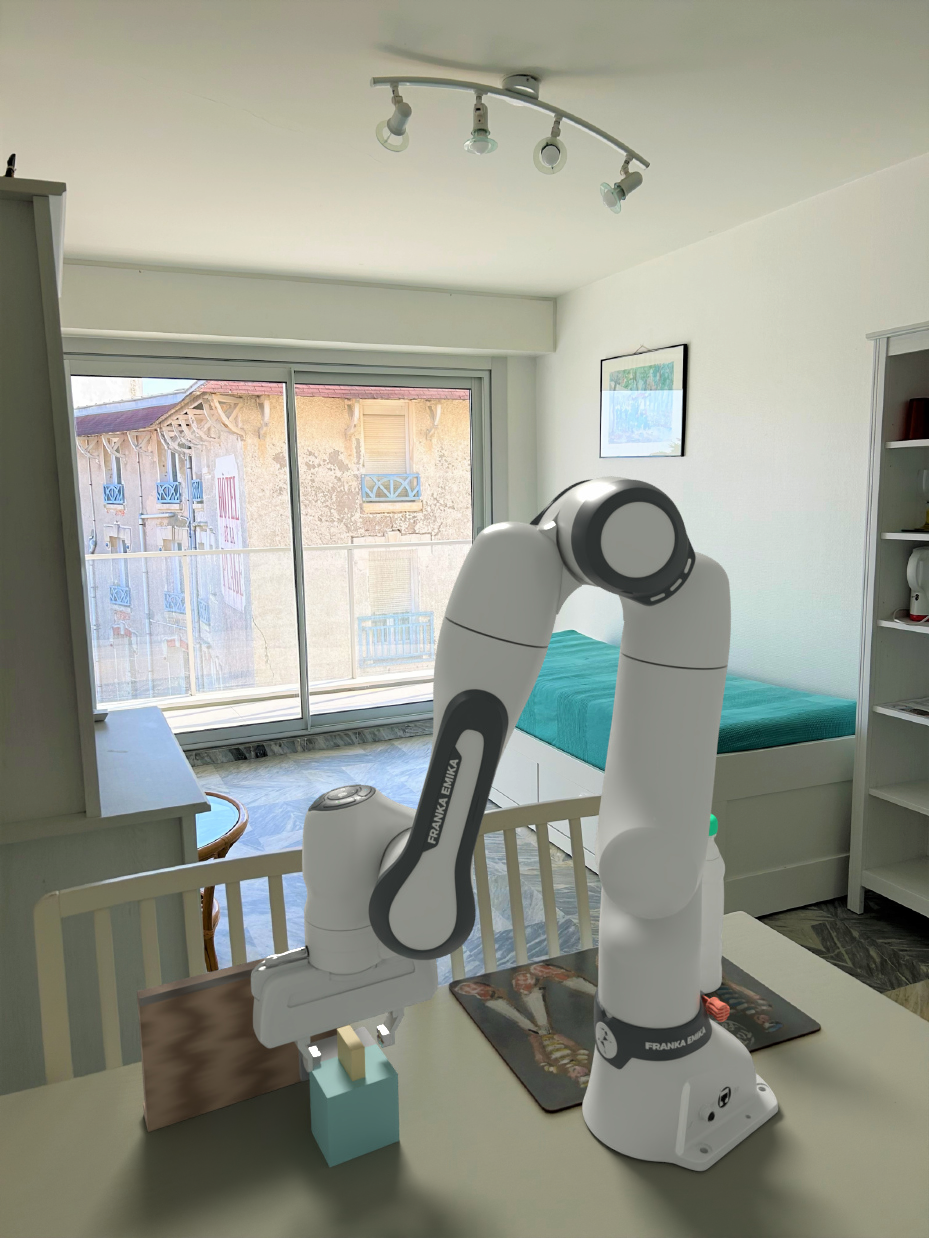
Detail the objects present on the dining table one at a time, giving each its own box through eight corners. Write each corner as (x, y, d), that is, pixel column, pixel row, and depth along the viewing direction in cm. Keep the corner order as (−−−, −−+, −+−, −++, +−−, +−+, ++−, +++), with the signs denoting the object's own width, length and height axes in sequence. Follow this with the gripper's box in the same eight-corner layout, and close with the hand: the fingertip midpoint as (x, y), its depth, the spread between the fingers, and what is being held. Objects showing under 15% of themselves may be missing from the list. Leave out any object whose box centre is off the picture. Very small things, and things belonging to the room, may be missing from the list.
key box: (366, 1088, 105) (363, 998, 103) (399, 1140, 96) (397, 1043, 94) (301, 1110, 101) (297, 1018, 99) (329, 1167, 92) (326, 1067, 91)
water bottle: (723, 998, 122) (729, 826, 119) (671, 993, 124) (675, 823, 120) (719, 971, 129) (724, 808, 125) (670, 966, 130) (673, 805, 127)
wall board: (342, 1049, 112) (338, 931, 110) (351, 1064, 109) (347, 943, 107) (143, 1113, 101) (134, 983, 98) (148, 1131, 98) (138, 998, 95)
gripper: (258, 975, 86) (263, 1104, 88) (443, 926, 96) (445, 1043, 98) (242, 947, 92) (247, 1068, 94) (419, 903, 101) (420, 1014, 103)
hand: (349, 1055), depth 96 cm, fingers open, 7 cm apart
